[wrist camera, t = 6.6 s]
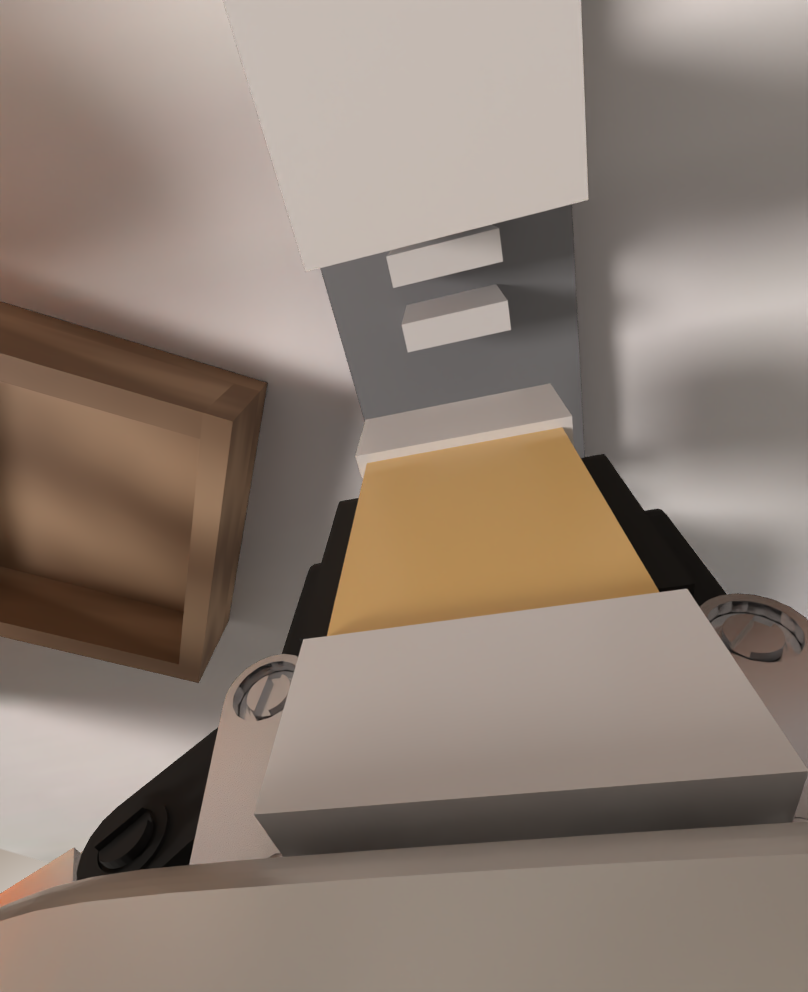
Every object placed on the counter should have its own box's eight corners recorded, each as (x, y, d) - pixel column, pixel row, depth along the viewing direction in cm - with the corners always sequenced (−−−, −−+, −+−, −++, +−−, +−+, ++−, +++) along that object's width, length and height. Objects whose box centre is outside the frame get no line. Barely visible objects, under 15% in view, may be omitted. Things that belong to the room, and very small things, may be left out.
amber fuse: (562, 537, 14) (740, 983, 6) (405, 561, 14) (377, 991, 6) (550, 383, 11) (809, 771, 4) (365, 420, 12) (253, 813, 4)
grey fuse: (509, 198, 15) (588, 199, 7) (368, 235, 16) (305, 272, 8) (488, 4, 13) (570, -287, 5) (326, 57, 13) (182, -129, 6)
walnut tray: (228, 621, 27) (198, 683, 24) (-42, 553, 26) (-116, 608, 22) (267, 382, 20) (233, 421, 16) (-105, 269, 18) (-228, 286, 15)
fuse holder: (584, 594, 25) (612, 668, 21) (427, 615, 26) (426, 688, 22) (542, -91, 13) (588, -214, 9) (257, 8, 14) (191, -61, 10)
